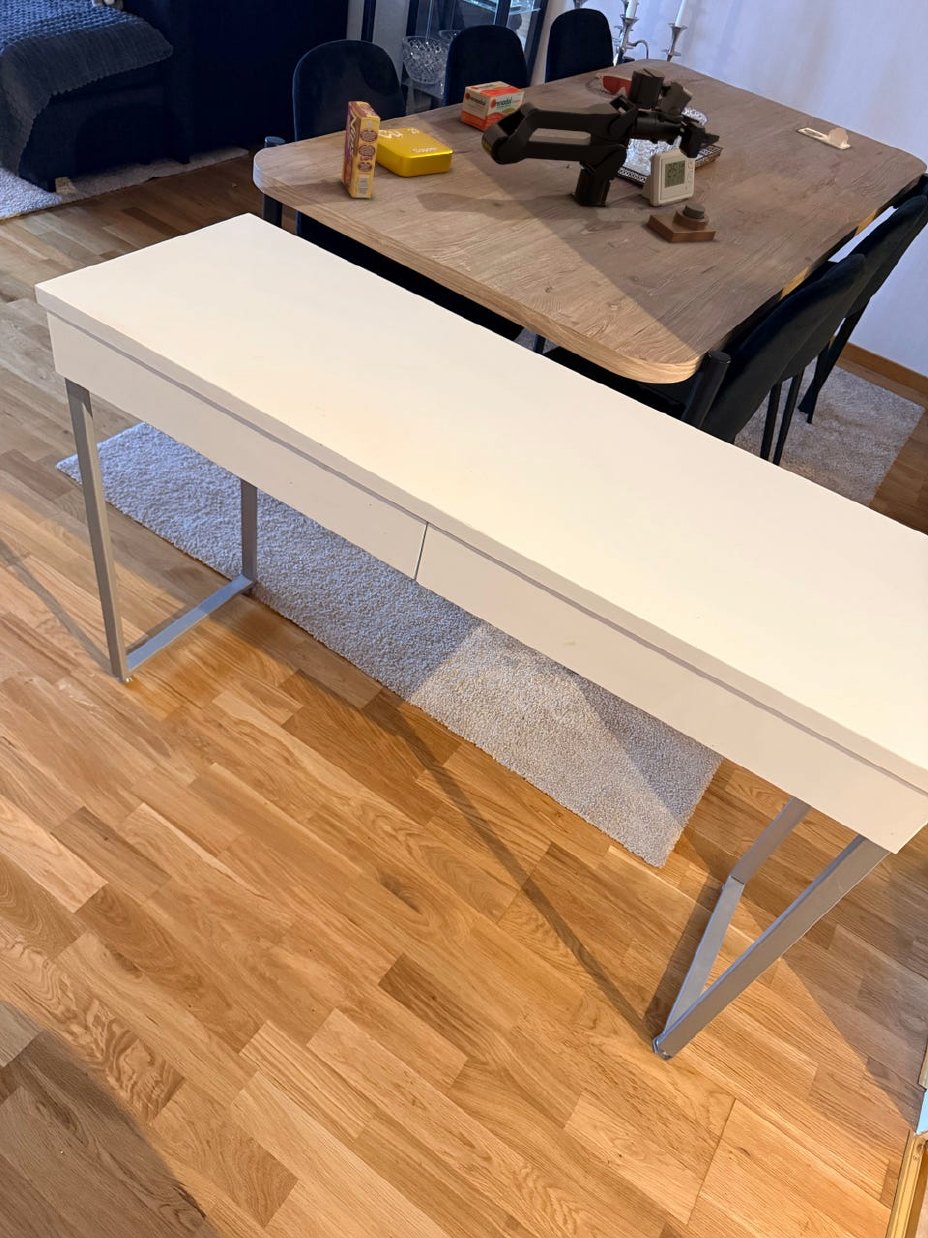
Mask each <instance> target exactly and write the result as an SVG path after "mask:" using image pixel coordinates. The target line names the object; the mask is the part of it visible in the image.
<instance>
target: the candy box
mask: <svg viewBox="0 0 928 1238" xmlns="http://www.w3.org/2000/svg"><path fill="white" fill-rule="evenodd" d="M347 106H348V108H347V115H346V116H347V118H346V125H345V139H344V149H343V159H342V170H341V171H342V172H341V182H342V184H343V185H344V187H345V188H346V190H347V191H348V193H349V194H350V196H351V197H352V198H354V199H355V198H356V199H369V200H370V199H371V197H372V189H373V181H374V173H375V167H376V166H375V165H376V161H375V158H376V150H377V142H378V134H379V130H380V125H381V117H380V116H379V115H378V114H377V113H376V112H375V110H374V109H373V107H372V106H371V105H370V104H369V103H368V102H364V101H348V105H347ZM355 193H364V194H355Z"/></svg>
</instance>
